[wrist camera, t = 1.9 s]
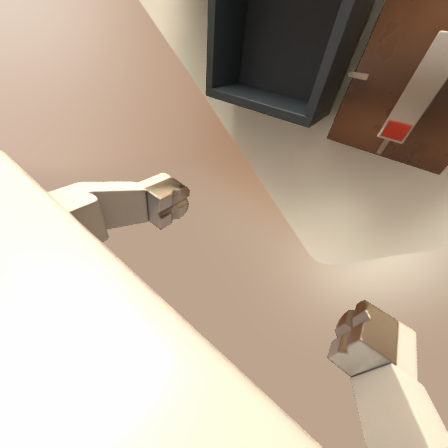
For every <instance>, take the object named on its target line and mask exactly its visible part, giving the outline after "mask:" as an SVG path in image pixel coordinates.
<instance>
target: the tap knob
mask: <svg viewBox="0 0 448 448" xmlns="http://www.w3.org/2000/svg"><path fill="white" fill-rule="evenodd" d="M447 79H448V31H440V32H439V33H438V34H437V36H436V38H435V39H434V41H433V43H432V44H431V46H430V48H429V50H428V51H427V53H426V55H425V56H424V58H423V60H422V61H421V63H420V65H419V66H418V68H417V70H416V71H415V73H414V75H413V76H412V78H411V80H410V81H409V83H408V85H407V87H406V88H405V90H404V92H403V93H402V95H401V97H400V98H399V100H398V102H397V103H396V105H395V107H394V108H393V110H392V112H391V113H390V115H389V117H388V118H387V120H386V122H385V124H384V125H383V127H382V129H381V130H380V132H379V134H378V135H377V137H379V138H383V139H386V140H390V141H393V142H397V143H400V144H402V143H403V142H404V141H405V139H406V138H407V137H408V135H409V134H410V132H411V131H412V129H413V128H414V126H415V125H416V124H417V122H418V121H419V119H420V118H421V116H422V115H423V114H424V112H425V111H426V109H427V108H428V106H429V105H430V103H431V102H432V101H433V99H434V98H435V96H436V95H437V93H438V92H439V91H440V89H441V88H442V86H443V85H444V83H445V82H446V81H447Z"/></svg>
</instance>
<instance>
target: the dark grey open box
mask: <svg viewBox="0 0 448 448" xmlns="http://www.w3.org/2000/svg"><path fill="white" fill-rule="evenodd" d="M374 2H375V0H208V30H207V69H206V96H209V97H212V98H215V99H219V100H222V101H225V102H228V103H231V104H235V105H238V106H241V107H244V108H247V109H251V110H254V111H257V112H260V113H263V114H267V115H270V116H273V117H276V118H279V119H282V120H286V121H289V122H292V123H295V124H298V125H302V126H305V127H308V128H310V127H311V126H312V125H314V124H315V123H317V122H318V121H320V120H321V119H323V118H324V117H326V116H327V115H329V113H330V110H331V108H332V105H333V103H334V100H335V98H336V96H337V93H338V91H339V88H340V86H341V83H342V81H343V78H344V76H345V73H346V71H347V68H348V66H349V63H350V61H351V59H352V56H353V54H354V51H355V49H356V46H357V44H358V41H359V39H360V36H361V34H362V31H363V29H364V27H365V24H366V22H367V19H368V17H369V14H370V12H371V9H372V7H373V4H374Z"/></svg>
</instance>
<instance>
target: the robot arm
mask: <svg viewBox="0 0 448 448" xmlns="http://www.w3.org/2000/svg"><path fill="white" fill-rule="evenodd" d="M189 193H190V190H189V189H188V188H187V187H186V186H184V185H183V184H181V183H180V182H179V181H177V180H175V179H174V178H172V177H171V176H169V175H168V174H166V173H161V174H158V175H156V176H154V177H151V178H149V179H146V180H143V181H141V182H139V183H135V182H78V183H75V184H72V185H69V186H66V187H63V188H60V189H57V190H53V191H50V192H47V191H46V190H45V189H43V188H42V187H41V186H40V185H39V184H38V183H37V182H36V181H35V180H34V179H33V178H32V177H31V176H29V175H28V174H27V173H26V172H25V171H24V170H23V169H22V168H21V167H20V166H19V165H18V164H16V163H15V162H14V161H13V160H12V159H11V158H10V157H9V156H8V155H7V154H6V153H4V152H3V151H2V150H0V448H323V447H322V446H321V445H320V444H319V443H318V442H317V441H316V440H314V439H313V438H312V437H311V436H310V435H309V434H308V433H307V432H306V431H305V430H304V429H303V428H301V427H300V426H299V425H298V424H297V423H296V422H295V421H294V420H293V419H292V418H291V417H290V416H288V415H287V414H286V413H285V412H284V411H283V410H282V409H281V408H280V407H279V406H278V405H277V404H276V403H274V402H273V401H272V400H271V399H270V398H269V397H268V396H267V395H266V394H265V393H264V392H263V391H262V390H260V389H259V388H258V387H257V386H256V385H255V384H254V383H253V382H252V381H251V380H250V379H249V378H248V377H246V376H245V375H244V374H243V373H242V372H241V371H240V370H239V369H238V368H237V367H236V366H235V365H234V364H232V363H231V362H230V361H229V360H228V359H227V358H226V357H225V356H224V355H223V354H222V353H220V351H218V350H217V349H216V348H215V347H214V346H213V345H212V344H211V343H210V342H209V341H208V340H207V339H205V338H204V337H203V336H202V335H201V334H200V333H199V332H198V331H197V330H196V329H195V328H194V327H192V326H191V325H190V324H189V323H188V322H187V321H186V320H185V319H184V318H183V317H182V316H181V315H180V314H178V313H177V312H176V311H175V310H174V309H173V308H172V307H171V306H170V305H169V304H168V303H167V302H166V301H164V300H163V299H162V298H161V297H160V296H159V295H158V294H157V293H156V292H155V291H154V290H152V288H150V287H149V286H148V285H147V284H146V283H145V282H144V281H143V280H142V279H141V278H140V277H139V276H138V275H136V274H135V273H134V272H133V271H132V270H131V269H130V268H129V267H128V266H127V265H126V264H125V263H123V262H122V261H121V260H120V259H119V258H118V257H117V256H116V255H115V254H114V253H113V252H112V251H111V250H109V249H108V248H107V247H106V246H105V245H104V244H103V243H102V242H104V241H106V240H107V239H108V237H109V236H108V233H107V229H111V228H117V227H122V226H128V225H133V224H138V223H144V222H148V221H150V222H151V223H152V224H154V225H155V226H156V227H158V228H159V229H163V228H165V227H166V226H168V225H169V224H171V223H172V220H173V219H179V218H181V217H182V216H183V215H184V214H185V213H186V211H187V209H188V205H189V203H188V200H187V197H188V196H189ZM335 332H336V336H337V338H336V339H335V340H333V341H332V343H331V346H330V350H329V353H328V356H327V358H328V359H329V360H331V361H332V362H333V363H334V364H335V365H337V366H338V367H339V368H340V369H342V370H343V371H344V372H345V373H347V374H348V375H349V376H350V377H351V378H350V379H351V383H352V388H353V392H354V397H355V401H356V405H357V410H358V414H359V418H360V423H361V427H362V431H363V435H364V440H365V444H366V448H448V432H447V430H446V428H445V426H444V424H443V422H442V420H441V418H440V416H439V414H438V413H437V411H436V409H435V407H434V405H433V403H432V401H431V399H430V397H429V396H428V394H427V392H426V390H425V388H424V386H423V385H422V384H420V383H419V382H418V381H417V346H416V345H417V343H416V333H415V331H414V330H412V329H411V328H409V327H408V326H406V325H405V324H403V323H401V322H400V321H398V320H396V319H395V318H392V317H391V316H390V315H388V314H386V313H385V312H383V311H382V310H380V309H379V308H377V307H375V306H374V305H372V304H371V303H369V302H367V301H366V300H364V301H361V302H359V303H358V304H357V305H356V309H355V310H348V311H347V312H346V313H345V314H344V315H343V316H342V317H341V318H340V320H339V322H338V324H337V326H336V329H335Z"/></svg>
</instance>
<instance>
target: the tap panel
mask: <svg viewBox="0 0 448 448" xmlns="http://www.w3.org/2000/svg"><path fill="white" fill-rule="evenodd" d="M440 31H448V0H386V1H385V4H384V6H383V8H382V11H381V13H380V15H379V18H378V20H377V22H376V25H375V27H374V29H373V32H372V34H371V36H370V38H369V41H368V43H367V45H366V48H365V50H364V52H363V55H362V57H361V59H360V62H359V64H358V66H357V69H356V71H355V72H354V71H350V72H349V75H348V77H352V80H351V83H350V85H349V87H348V90H347V92H346V94H345V96H344V99H343V101H342V103H341V106H340V108H339V110H338V113H337V115H336V117H335V120H334V122H333V124H332V127H331V129H330V131H329V134H328V136H327V139H330V140H333V141H336V142H339V143H342V144H346V145H349V146H352V147H355V148H358V149H361V150H364V151H367V152H370V153H373V154H376V155H380V156H383V157H386V158H389V159H392V160H395V161H398V162H401V163H404V164H407V165H411V166H414V167H417V168H420V169H423V170H426V171H429V172H432V173H435V174H441V172H442V171H443V170H444V169H445V168H446V167H447V166H448V79H447V81H446V82H445V83H444V85H443V86H442V88H441V89H440V91H439V92H438V93H437V95H436V96H435V98H434V99H433V101H432V102H431V103H430V105H429V106H428V108H427V109H426V111H425V112H424V114H423V115H422V116H421V118H420V119H419V121H418V122H417V124H416V125H415V126H414V128H413V129H412V131H411V132H410V134H409V135H408V137H407V138H406V139H405V141H404V142H403V143H402V144H400V143H397V142H393V141H390V140H386V139H383V138H379V137H377V135H378V134H379V132H380V130H381V129H382V127H383V125H384V124H385V122H386V120H387V118H388V117H389V115H390V113H391V112H392V110H393V108H394V107H395V105H396V103H397V102H398V100H399V98H400V97H401V95H402V93H403V92H404V90H405V88H406V87H407V85H408V83H409V81H410V80H411V78H412V76H413V75H414V73H415V71H416V70H417V68H418V66H419V65H420V63H421V61H422V60H423V58H424V56H425V55H426V53H427V51H428V50H429V48H430V46H431V44H432V43H433V41H434V39H435V38H436V36H437V34H438V33H439V32H440Z"/></svg>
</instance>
